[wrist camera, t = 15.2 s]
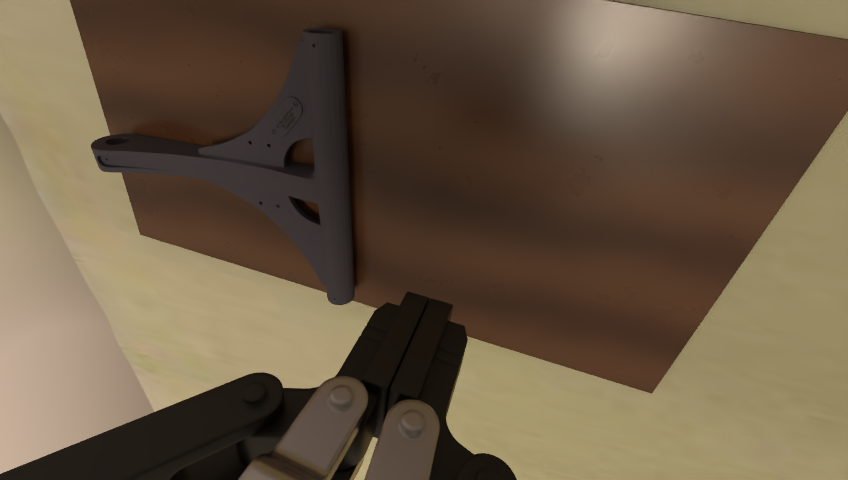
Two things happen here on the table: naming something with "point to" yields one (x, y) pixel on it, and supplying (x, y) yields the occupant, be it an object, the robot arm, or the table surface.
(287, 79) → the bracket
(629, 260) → the board
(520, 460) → the table surface
